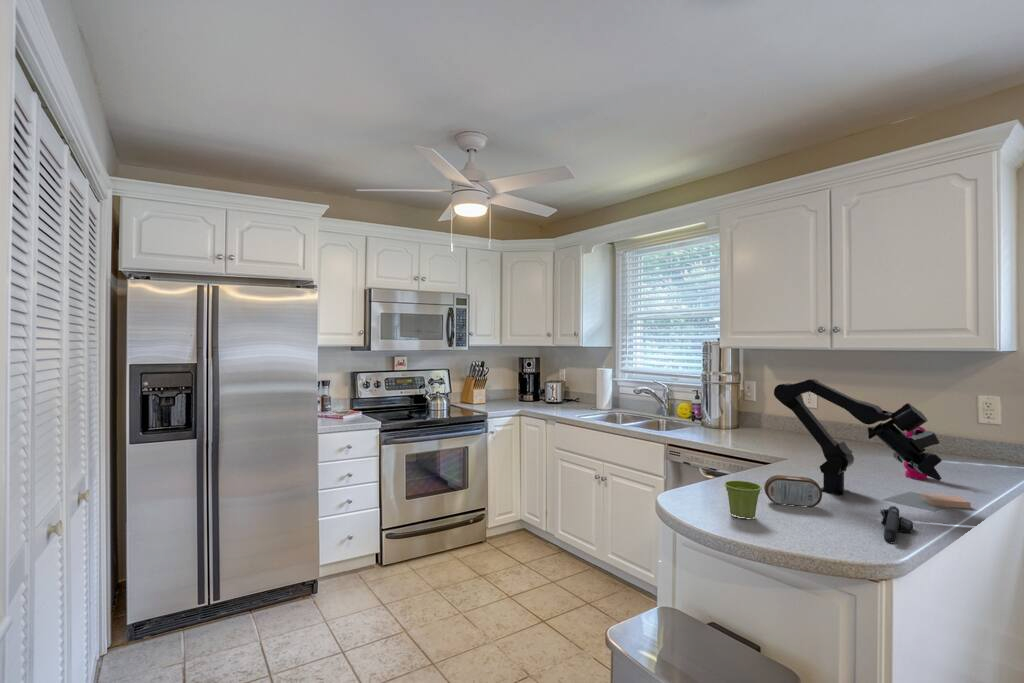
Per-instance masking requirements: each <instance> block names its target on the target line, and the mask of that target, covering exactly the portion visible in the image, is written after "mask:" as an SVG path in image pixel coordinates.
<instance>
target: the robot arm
mask: <svg viewBox="0 0 1024 683" xmlns="http://www.w3.org/2000/svg"><path fill="white" fill-rule="evenodd" d="M809 392H811V393H812V394H814V395H816V396H817V397H820V398H822V399H824V400H826V401H828V402H830V403H832V404H834V405H836V406H838V407H839V408H841V409H844V410H846V411H847V412H848V413H849V414H850V415H851V416H852V417H854V418H855V419H856V420H858V421H859V422H861V423H862V424H864V425H873V424H874V425H875V424H877V425H875V426H874V427H869V426H868V427H867V438H868V439H869V440H871V439H873V438H874V437H875V436H876V437H877V438H878V439H879V440H880V441H881V442H883V444H885V445H886V446H887V448H888V449H889V450H890V451H892V452H893V458H894V459H895V460H897V462H899V463H900V464H903V463H904V461H905V462H907V463H909V464H908V465H907V466H908V467H910V468H912V469H914V470H916V471H918V472H920V473H922V474H925V475H927V477H930V478H932V479H933V480H936V481H941V480H942V476H941V475H940V473H939V472H938V471H937V469H936V468H935V467H936V466H937V465H939V464H940V463H941V462H942V461H943V459H942V458H940V457H939V456H938V455H937V454H935V453H932V452H929V451H928V452H925V451H926V449H925V448H929V447H931V446H933V445H939V444H940V440H939V438H938V437H937V435H936V432H933V431H930V430H926V431H924V432H923V431H921V430H919V429H916V428H917V427H919V426H920V427H922V425H924V424H925V423H928V421H929V420H928V418H927V417H926V416H925V414H924V413H923V412H922V411H921V410H919V409H917V408H916V407H914V406H912V404H910V402H907V403H905V404H903V405H902V406H901V407H900V408H899V409H897V410H896V411H894V412H893V411H888V410H884V409H883V408H882V407H880V406H879V405H877V404H874V403H870V402H867V401H863V400H859V399H855V398H854V397H851V396H849V395H847V394H845V393H843V392H840V391H838V390H836V389H835V388H832V387H830V386H828V385H826V384H824V383H822V382H820V381H819V380H817V379H814V378H810V379H805V380H804V381H800V382H796V383H780V384H778V385H776V386H775V387H774V390H773V396H774V397H775V399H777V400H778V402H780V403H781V404H782V405H783V406H785V407H786V408H788V409H789V410H790V411H792V412H793V414H794V415H795V416H796V417H797V419H798V420H799V421H800V422H801V424H802V425H803V426H804V427H805V428H806V430H807V431H808V432H809V433H810V435H811V436H812V437H813V439H814V440H815V441H816V442H817V444H818V445H819V446H820V448H821V451H822V454H823V456H824V458H825V460H826V461H824V462H823V463H822V464H821V465H820V466H819V470H820V472H821V474H823V476H822V478H823V487H820V488H821V490H822V492H826V493H830V494H835V495H843V494H844V493H846V492H850V490H849V489H845V472H846V471H847V469H848V468H849V467H851V466H852V465H853V464H854V461H855V460H854V459H855V458H854V454H852V453H854V451H853V450H851V449H850V448H849V447H848V446H847V444H846V442H845V441H840V442H838V441H837V440H835V438H833V437H832V435H830V433H829V432H828V431H827V430H826V428H825V427H824V426H823V424H822V423H821V422H820V420H818V419H817V417H816V416H815V415H814V414H813V412H812V411H811V410H810V409H809V407H808V406H807V405H806V403H805V401H804V399H803V396H802V394H806V393H809ZM887 420H888V421H887ZM884 421H885V422H884ZM879 422H880V423H879ZM883 422H884V423H883ZM914 429H916V430H914ZM912 430H913V435H912V437H908V436H907V435H906V433H904V432H906V431H908V432H911V431H912ZM923 452H924V453H923Z"/></svg>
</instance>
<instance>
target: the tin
mask: <svg viewBox="0 0 1024 683" xmlns="http://www.w3.org/2000/svg"><path fill="white" fill-rule="evenodd" d="M821 488H822V487H821V486H820V485H819V483H817V481H815V480H814V479H813V478H810V477H805V476H804V477H803V476H793V475H792V476H791V475H779V474H777V475H773V476H771V477H769V478H768V479H767V480H766V481H765V484H764V493H765V496H766V497H767V499H768V500H770V501H771V502H772V503H774V504H775V503H776V505H779V504H786V505H785V506H787V505H794V506H793V507H797V506H807V507H810V508H814V507H816V506H818V505H819V504H820V503H821V501H822V499H823V491H822V490H821ZM807 507H806V508H807Z"/></svg>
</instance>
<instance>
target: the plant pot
mask: <svg viewBox="0 0 1024 683" xmlns="http://www.w3.org/2000/svg"><path fill="white" fill-rule="evenodd" d="M724 486H725V487H726V491H727V498H728V504H729V512H730V513H731V514H733V515H736V516H739V517H745V518H753V517H755V518H756V512H757V507H758V506H757V505H758V501H759V500H758V498H759V495H760V493H761V490H762V489H763V488H762V486H761V485H760V484H758V483H755V482H752V481H744V480H728V481H725V482H724ZM731 514H730V515H731Z"/></svg>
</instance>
